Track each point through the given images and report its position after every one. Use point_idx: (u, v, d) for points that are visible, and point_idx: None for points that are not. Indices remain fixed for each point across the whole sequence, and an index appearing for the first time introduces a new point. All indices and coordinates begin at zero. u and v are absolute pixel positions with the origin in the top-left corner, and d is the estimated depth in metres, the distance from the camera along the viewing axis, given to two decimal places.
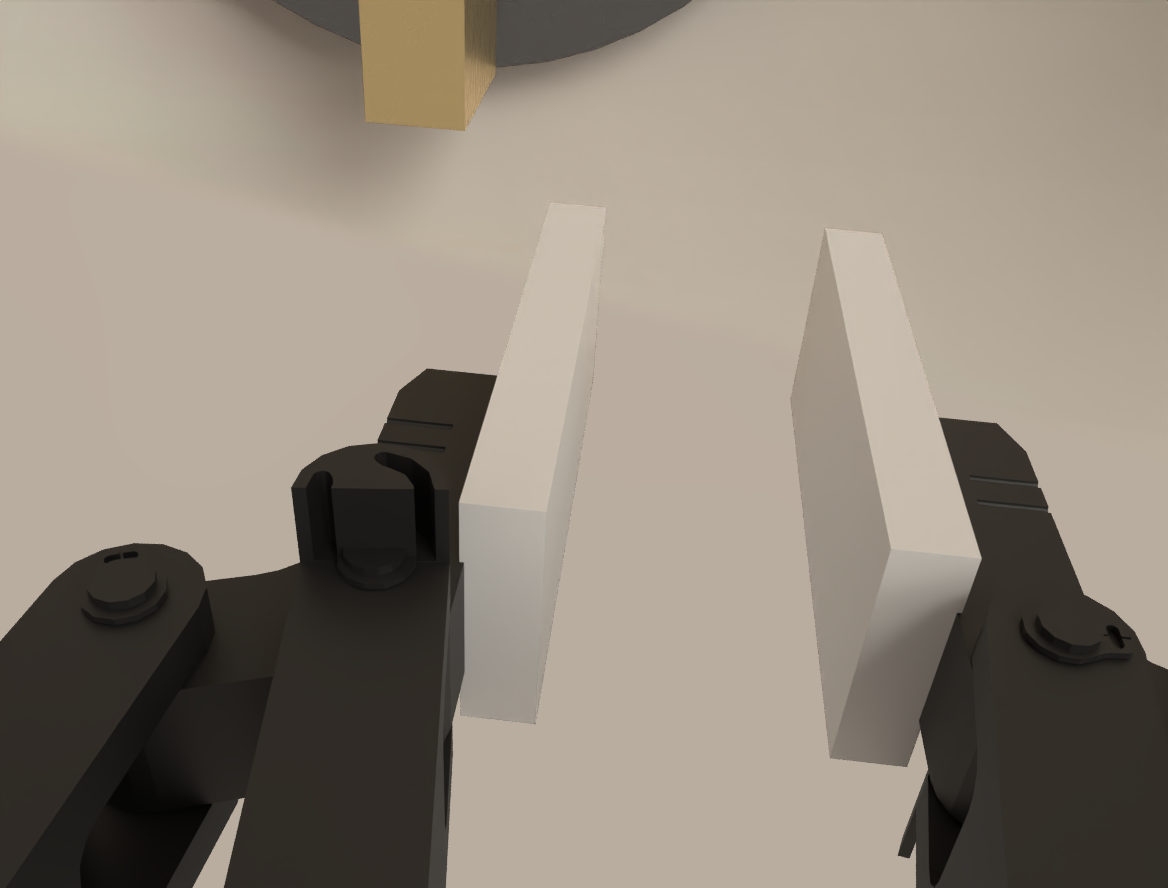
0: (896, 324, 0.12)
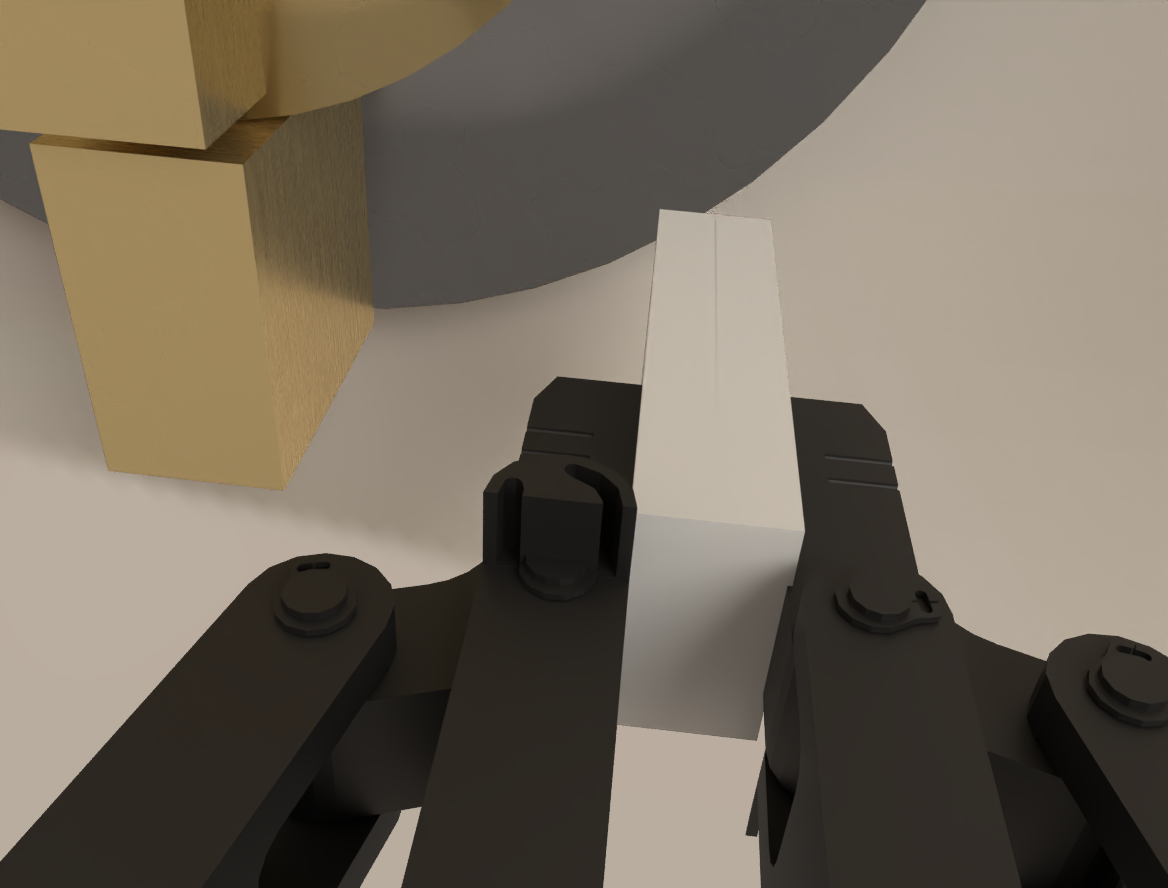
0: (766, 307, 0.13)
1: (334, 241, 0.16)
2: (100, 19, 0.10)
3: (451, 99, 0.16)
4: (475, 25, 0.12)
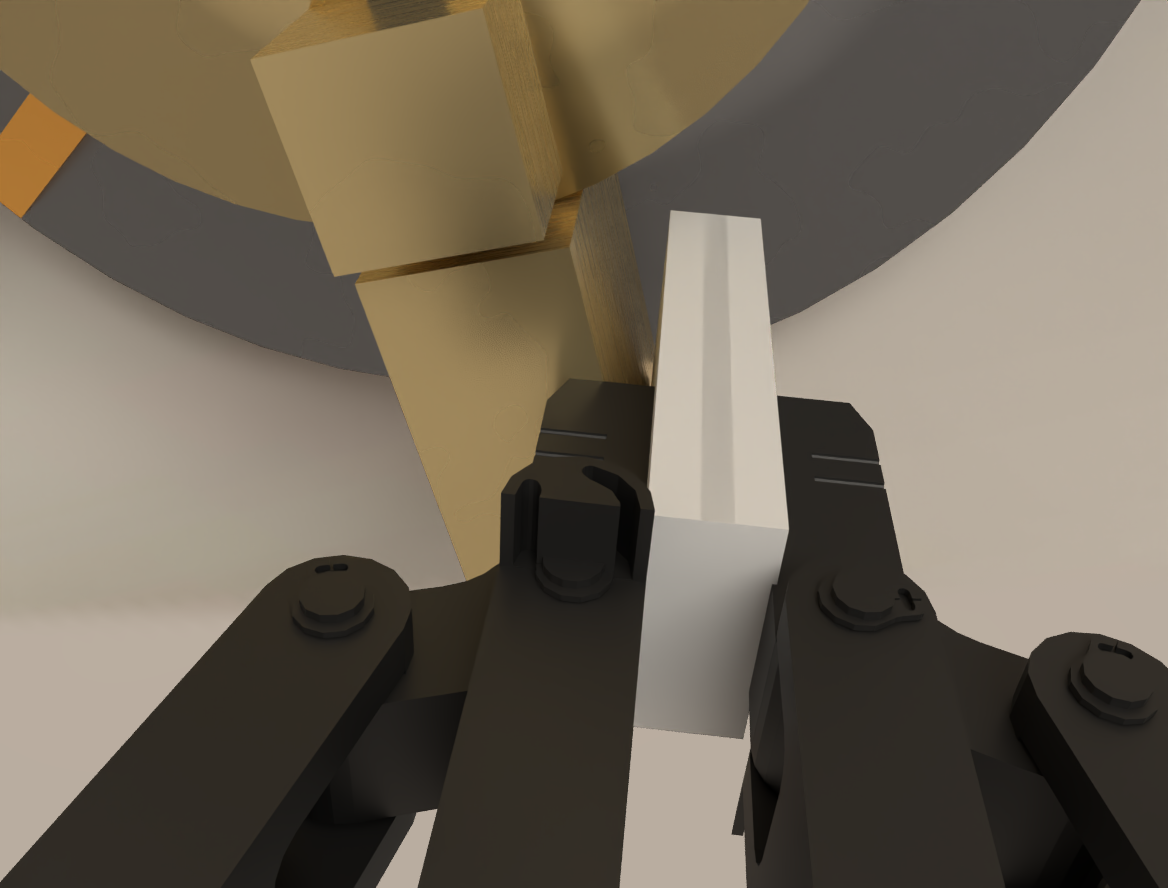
0: (755, 306, 0.13)
1: (627, 305, 0.15)
2: (424, 139, 0.10)
3: (742, 106, 0.15)
4: (773, 37, 0.11)
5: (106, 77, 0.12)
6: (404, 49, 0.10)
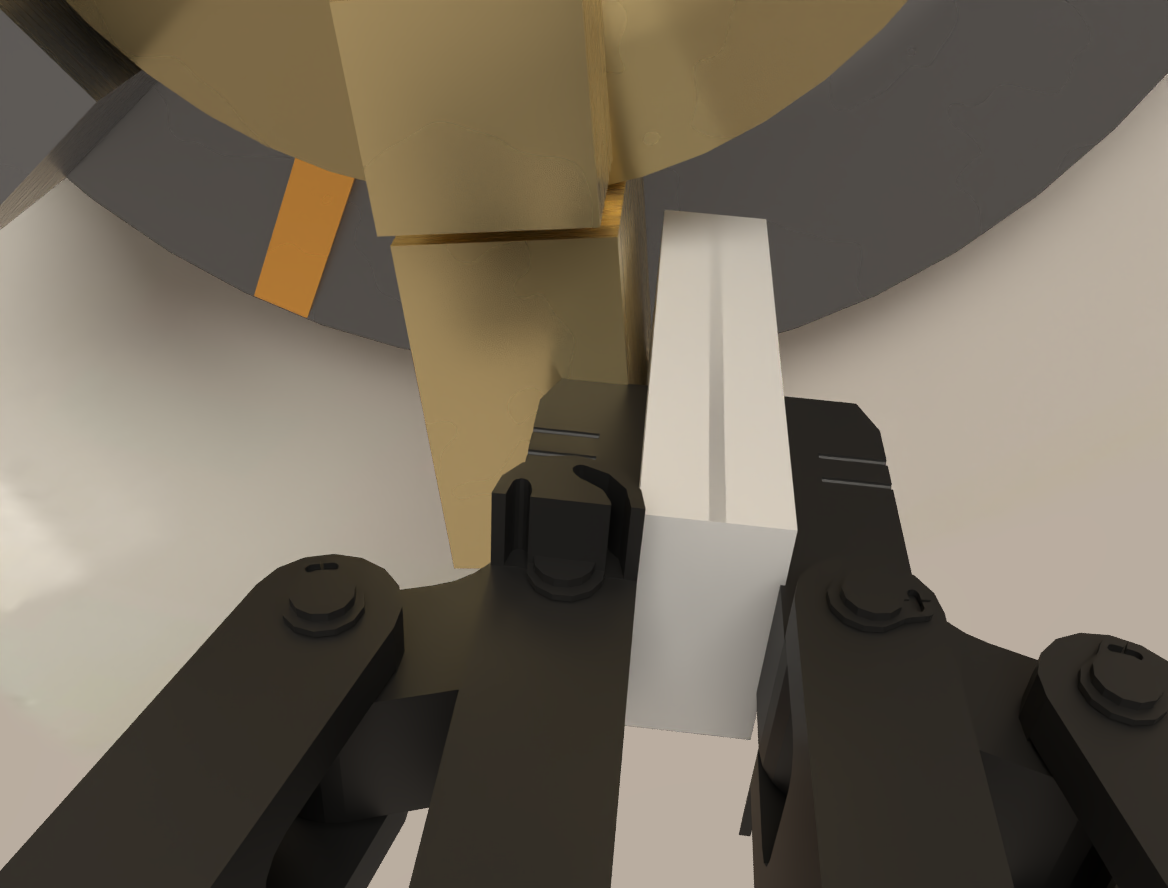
0: (761, 306, 0.13)
1: (641, 300, 0.15)
2: (495, 108, 0.10)
3: None
4: (845, 55, 0.11)
5: None
6: (492, 15, 0.09)
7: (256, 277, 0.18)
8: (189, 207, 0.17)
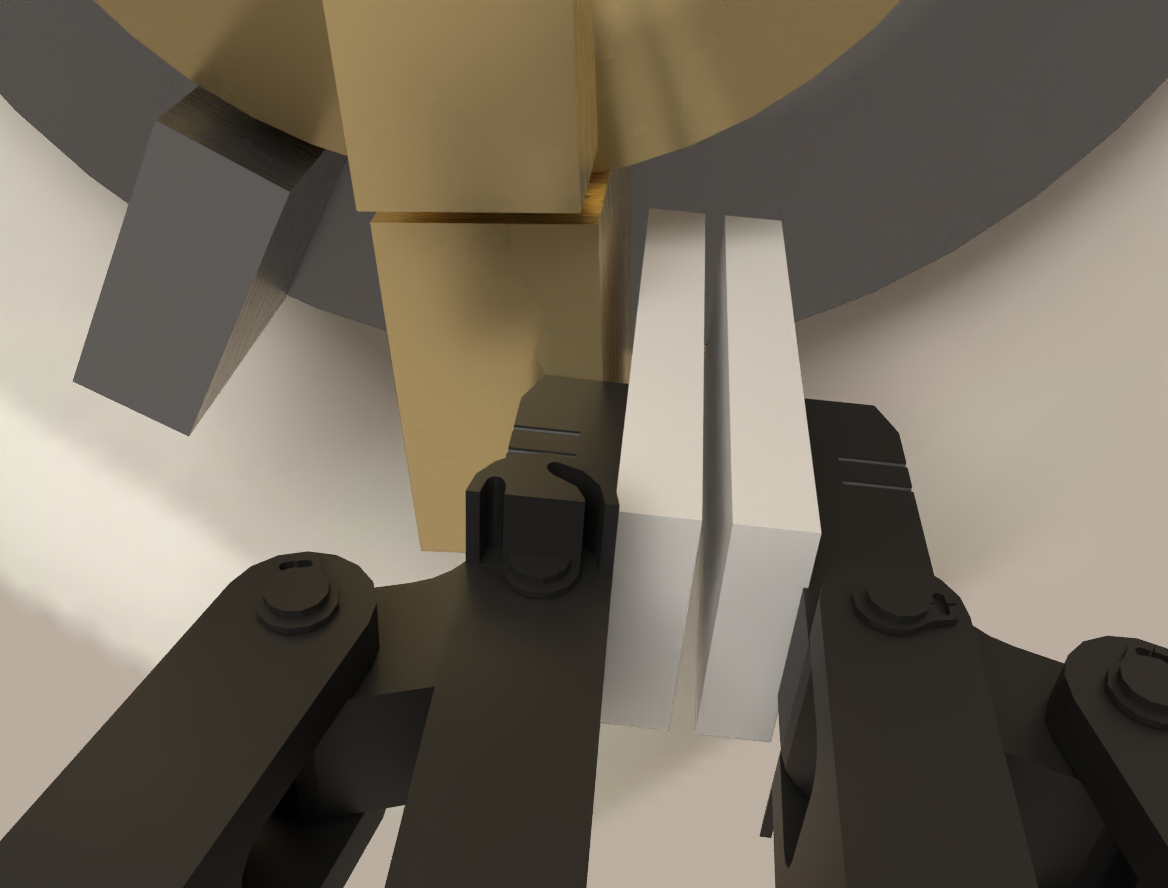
0: (779, 308, 0.13)
1: (621, 292, 0.15)
2: (480, 87, 0.10)
3: None
4: (834, 54, 0.11)
5: None
6: None
7: None
8: None
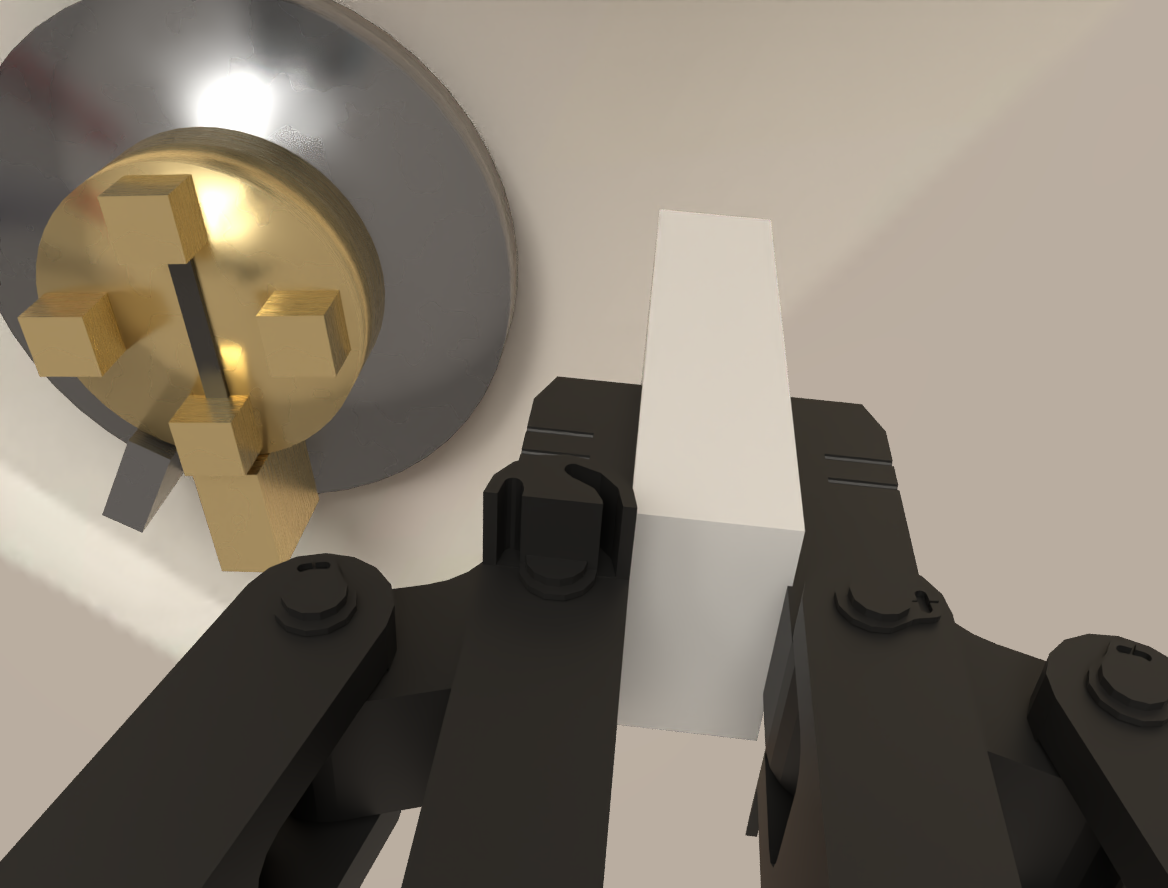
0: (766, 307, 0.13)
1: (294, 479, 0.42)
2: (213, 447, 0.38)
3: (420, 300, 0.40)
4: (323, 425, 0.39)
5: (124, 400, 0.39)
6: (209, 427, 0.37)
7: None
8: None
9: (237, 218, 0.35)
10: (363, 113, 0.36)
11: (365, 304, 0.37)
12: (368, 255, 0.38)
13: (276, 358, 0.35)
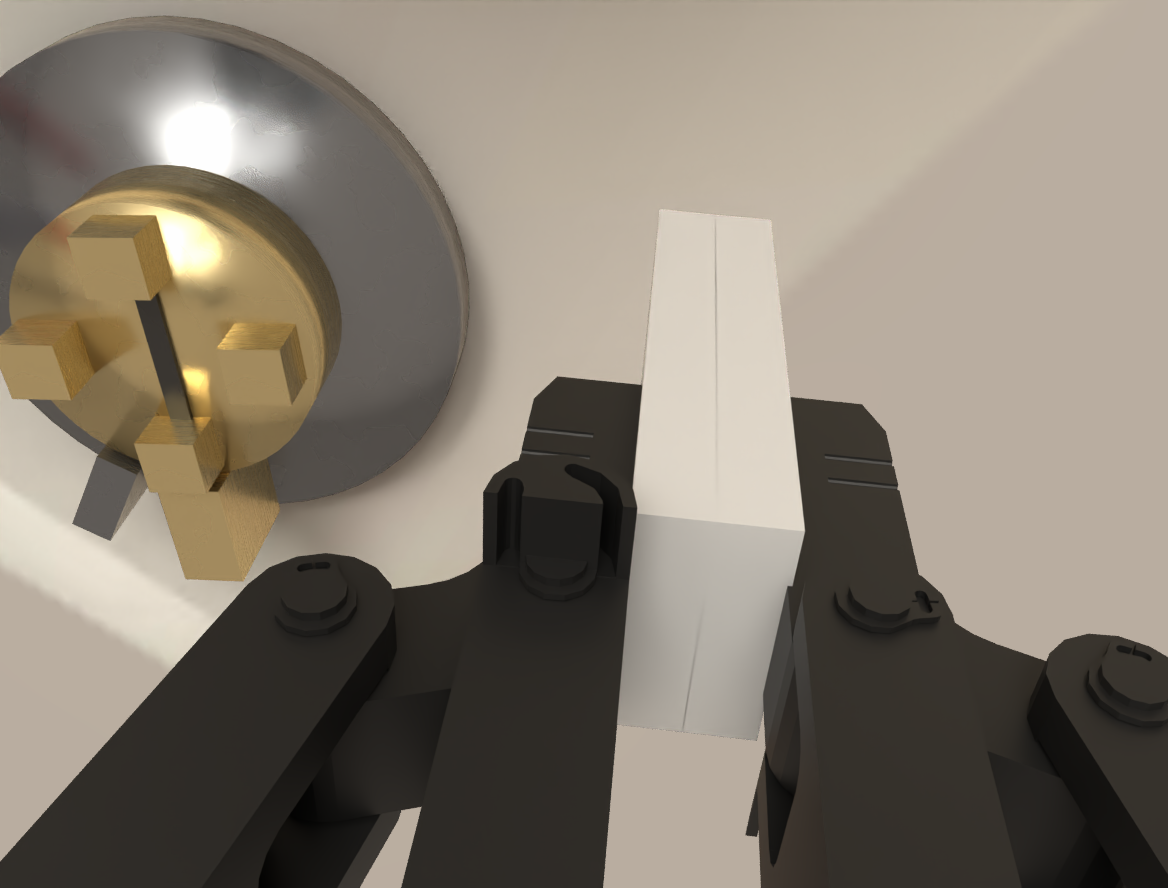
0: (766, 307, 0.13)
1: (256, 492, 0.45)
2: (176, 467, 0.40)
3: (375, 328, 0.42)
4: (281, 446, 0.41)
5: (93, 419, 0.41)
6: (173, 449, 0.39)
7: None
8: None
9: (199, 256, 0.37)
10: (321, 156, 0.38)
11: (321, 335, 0.39)
12: (325, 288, 0.40)
13: (235, 388, 0.38)
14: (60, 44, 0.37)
